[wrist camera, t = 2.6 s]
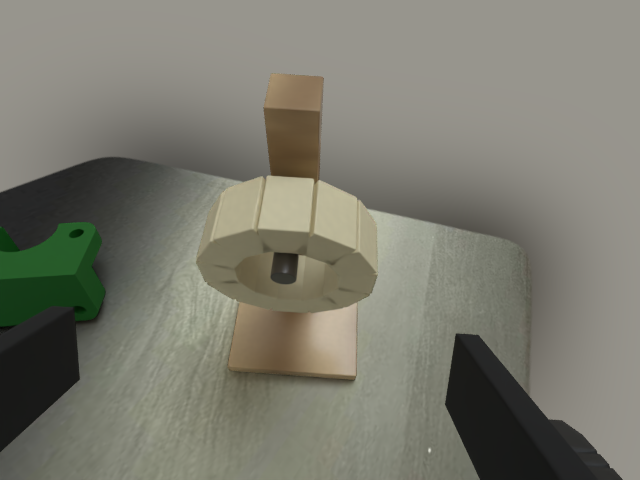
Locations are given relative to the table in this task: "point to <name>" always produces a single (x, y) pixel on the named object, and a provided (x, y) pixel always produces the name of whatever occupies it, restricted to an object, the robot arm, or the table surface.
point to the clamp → (50, 275)
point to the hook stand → (294, 255)
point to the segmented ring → (289, 245)
